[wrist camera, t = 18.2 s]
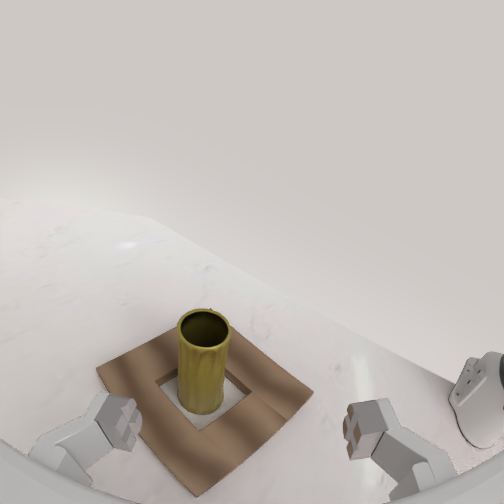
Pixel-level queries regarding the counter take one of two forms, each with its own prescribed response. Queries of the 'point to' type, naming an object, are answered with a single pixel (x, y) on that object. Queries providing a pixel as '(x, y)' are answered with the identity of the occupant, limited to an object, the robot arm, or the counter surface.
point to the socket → (221, 430)
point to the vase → (202, 359)
